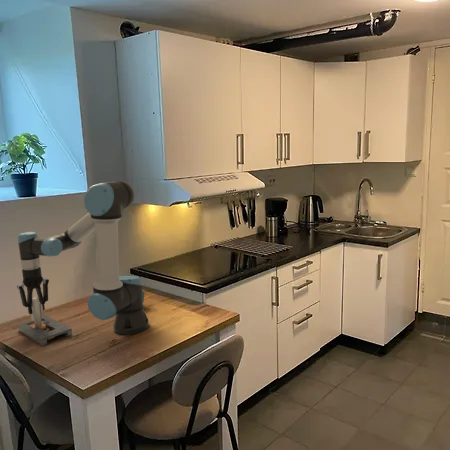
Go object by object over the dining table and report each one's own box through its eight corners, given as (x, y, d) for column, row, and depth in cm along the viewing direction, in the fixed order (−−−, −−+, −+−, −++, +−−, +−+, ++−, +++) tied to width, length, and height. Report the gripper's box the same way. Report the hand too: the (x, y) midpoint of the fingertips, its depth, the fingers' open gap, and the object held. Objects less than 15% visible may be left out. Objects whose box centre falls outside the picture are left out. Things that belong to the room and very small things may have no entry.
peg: (48, 328, 198) (44, 298, 196) (35, 332, 194) (31, 301, 192) (42, 324, 203) (38, 295, 200) (29, 329, 198) (25, 299, 196)
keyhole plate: (72, 335, 191) (71, 328, 190) (42, 345, 181) (41, 338, 181) (47, 321, 207) (46, 315, 207) (18, 330, 198) (17, 324, 198)
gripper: (45, 262, 202) (51, 311, 206) (8, 270, 191) (15, 322, 195) (53, 265, 197) (58, 315, 201) (15, 273, 185) (22, 326, 189)
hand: (37, 319), depth 198 cm, fingers closed on peg, 3 cm apart
